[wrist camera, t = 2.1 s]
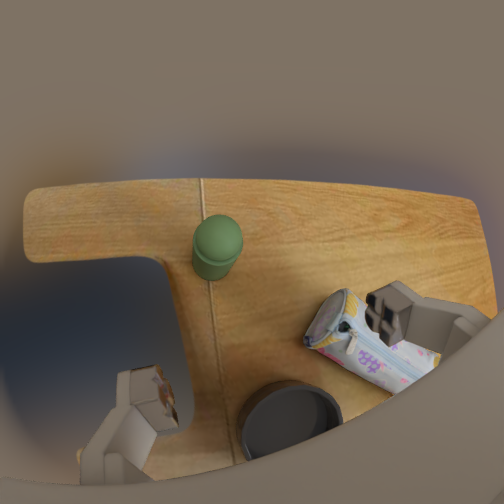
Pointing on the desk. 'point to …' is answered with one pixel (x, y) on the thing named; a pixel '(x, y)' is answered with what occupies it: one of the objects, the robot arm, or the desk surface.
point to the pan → (284, 417)
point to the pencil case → (365, 345)
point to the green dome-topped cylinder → (216, 247)
